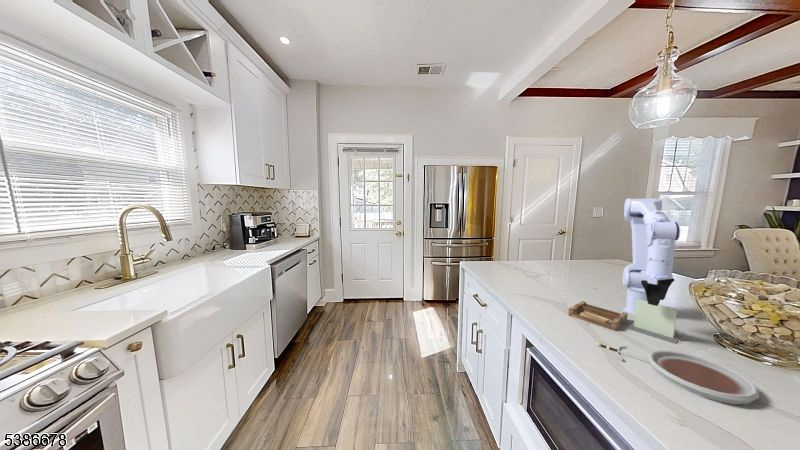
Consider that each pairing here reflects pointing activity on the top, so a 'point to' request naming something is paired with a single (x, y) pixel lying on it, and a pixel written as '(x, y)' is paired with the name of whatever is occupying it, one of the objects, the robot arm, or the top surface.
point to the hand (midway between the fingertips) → (656, 301)
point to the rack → (614, 317)
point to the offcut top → (595, 317)
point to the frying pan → (698, 375)
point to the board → (655, 318)
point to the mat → (655, 334)
